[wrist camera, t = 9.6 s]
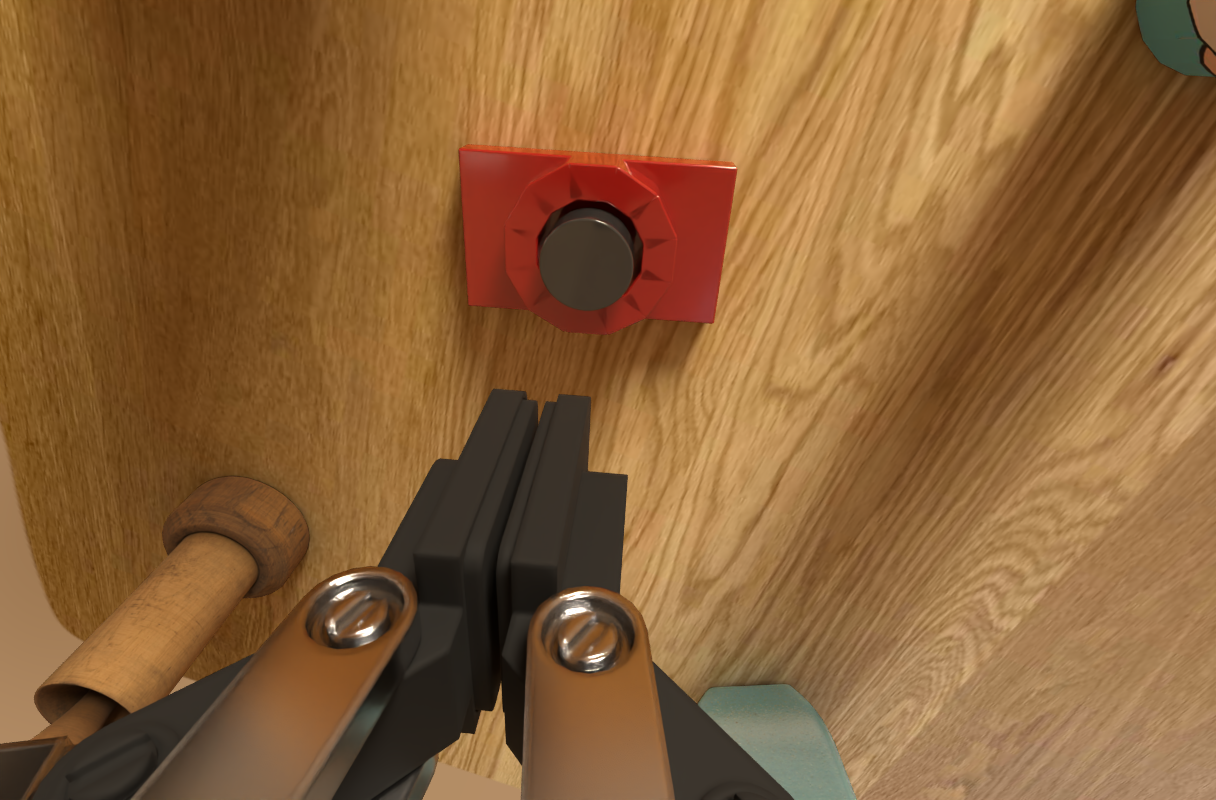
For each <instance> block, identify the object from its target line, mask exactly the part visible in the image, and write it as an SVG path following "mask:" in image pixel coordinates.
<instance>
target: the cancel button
mask: <svg viewBox="0 0 1216 800" xmlns="http://www.w3.org/2000/svg"><path fill="white" fill-rule="evenodd" d="M634 258H635V248H634V242H633V239H632V236H631V234H630V232H629V230H628V228H627V227H626V225H625V224H624V223H623V222H622V221H621V220H620V219H619V218H618V217H617V216H615V215H614V214H612V213H610V212H608V211H606V210H604V209H600V208H595V207H583V208H578V209H574V210H572V211H570V212H568V213H566V214H564V215H563V216H562V217H561V218H559V219H558V220H557V222H556V223H555V224H554V225H553V227H552V228H551V230H550V232H549V234H548V236H547V238H546V239H545V241H544V243H543V245H542V248H541V251H540V256H539V270H540V275H541V278H542V281H543V283H544V285H545V287H546V288H547V290H548V291H549V292H550V293H551V295H552V296H553V297H554V298H555V299H557V300H558V301H559V302H561V303H562V304H564V305H566V306H568V307H570V308H573V309H577V310H582V311H594V310H599V309H603V308H606V307H608V306H610V305H612V304H613V303H615V302H616V301H618V300H619V299H620V298H621V297H622V296H623V295H624V293H625V292H626V290H627V289H628V287H629V285H630V283H631V280H632V277H633V271H634Z"/></svg>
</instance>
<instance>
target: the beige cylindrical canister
mask: <svg viewBox="0 0 1216 800" xmlns="http://www.w3.org/2000/svg"><path fill="white" fill-rule="evenodd" d="M1136 12H1137V17H1138V21H1139V26H1140V31H1141V35H1142V39H1143V41H1144V42H1145V44H1146V45H1147V46H1148V48H1149V49H1150V50H1151V52H1152V53H1153V54H1154V56H1155V57H1156V58H1157V60H1158V61H1159V62H1160V63H1162V64H1164V65H1166V66H1168V67H1170V68H1172V69H1174V70H1176V71H1178V72H1180V73H1182V74H1184V75H1191V76H1209V77H1216V0H1136Z"/></svg>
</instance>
